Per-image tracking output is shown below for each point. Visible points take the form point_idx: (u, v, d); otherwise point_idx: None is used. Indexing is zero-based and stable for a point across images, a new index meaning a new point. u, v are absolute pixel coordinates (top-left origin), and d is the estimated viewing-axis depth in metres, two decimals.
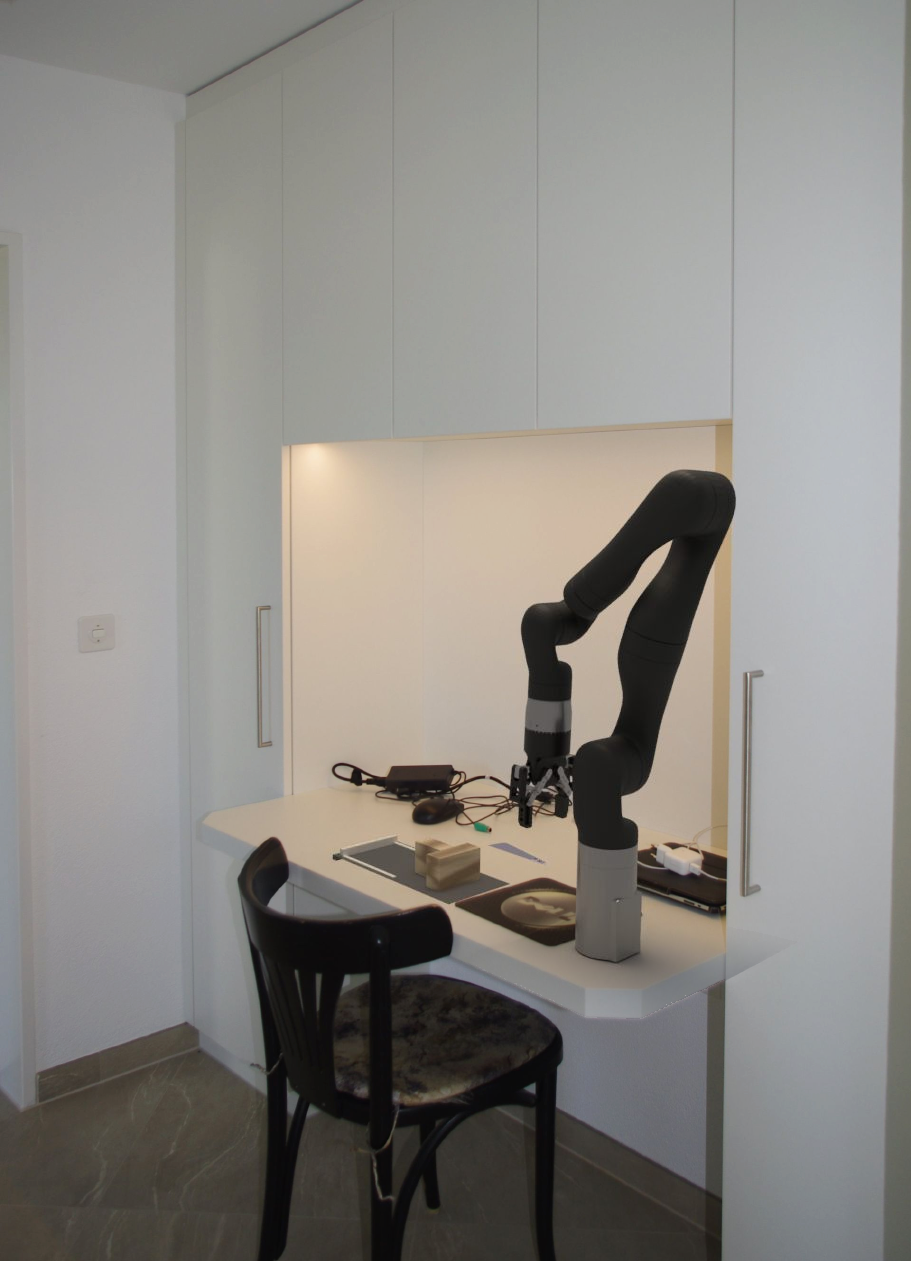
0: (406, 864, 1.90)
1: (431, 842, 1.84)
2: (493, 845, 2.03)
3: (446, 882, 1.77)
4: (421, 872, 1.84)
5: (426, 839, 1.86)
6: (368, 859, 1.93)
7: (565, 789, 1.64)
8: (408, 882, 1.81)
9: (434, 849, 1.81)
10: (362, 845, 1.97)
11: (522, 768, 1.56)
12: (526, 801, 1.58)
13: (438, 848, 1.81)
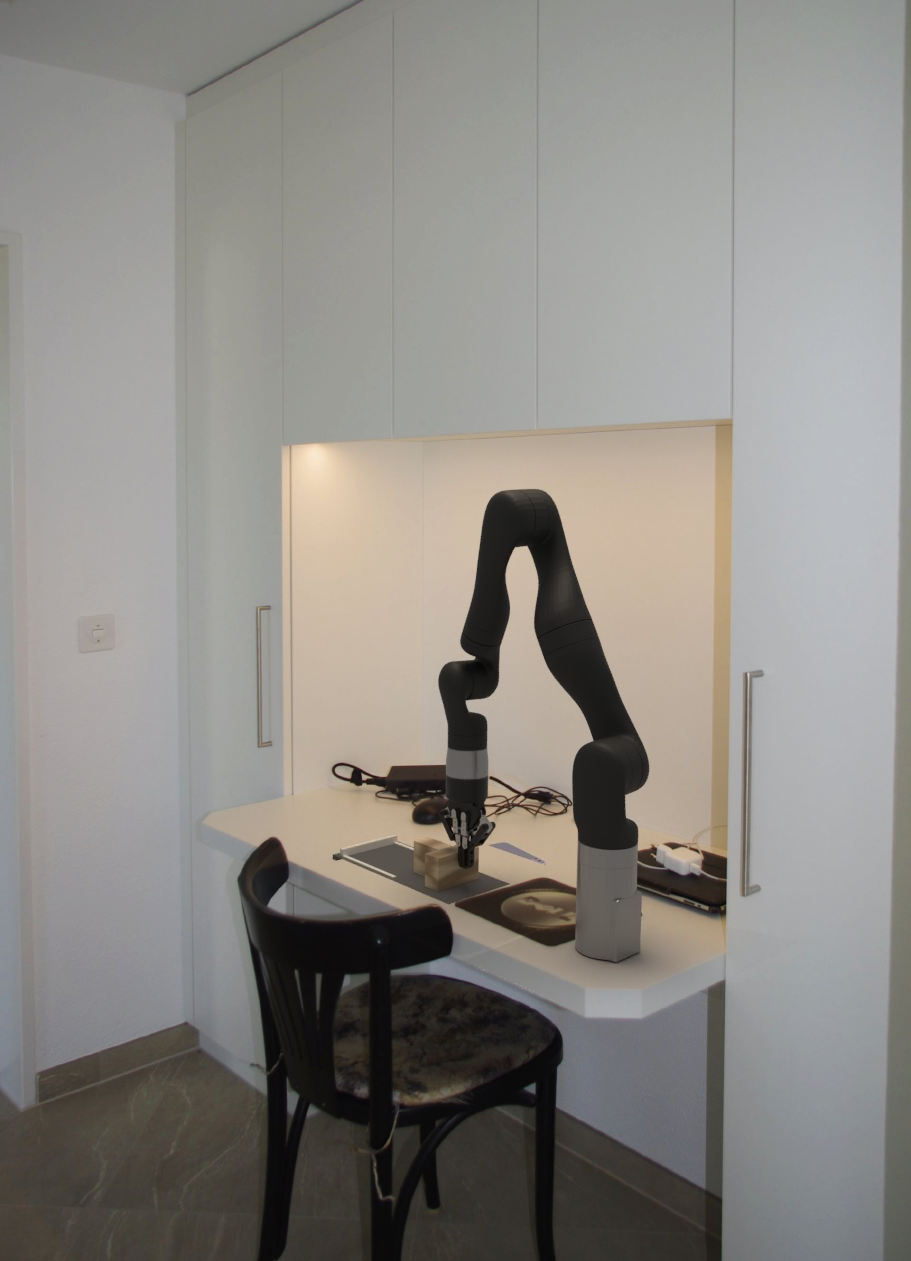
0: (406, 864, 1.90)
1: (430, 842, 1.84)
2: (493, 845, 2.03)
3: (445, 881, 1.77)
4: (420, 871, 1.84)
5: (425, 838, 1.87)
6: (368, 859, 1.93)
7: None
8: (408, 882, 1.81)
9: (433, 848, 1.81)
10: (362, 845, 1.97)
11: (494, 825, 1.73)
12: None
13: (437, 848, 1.81)
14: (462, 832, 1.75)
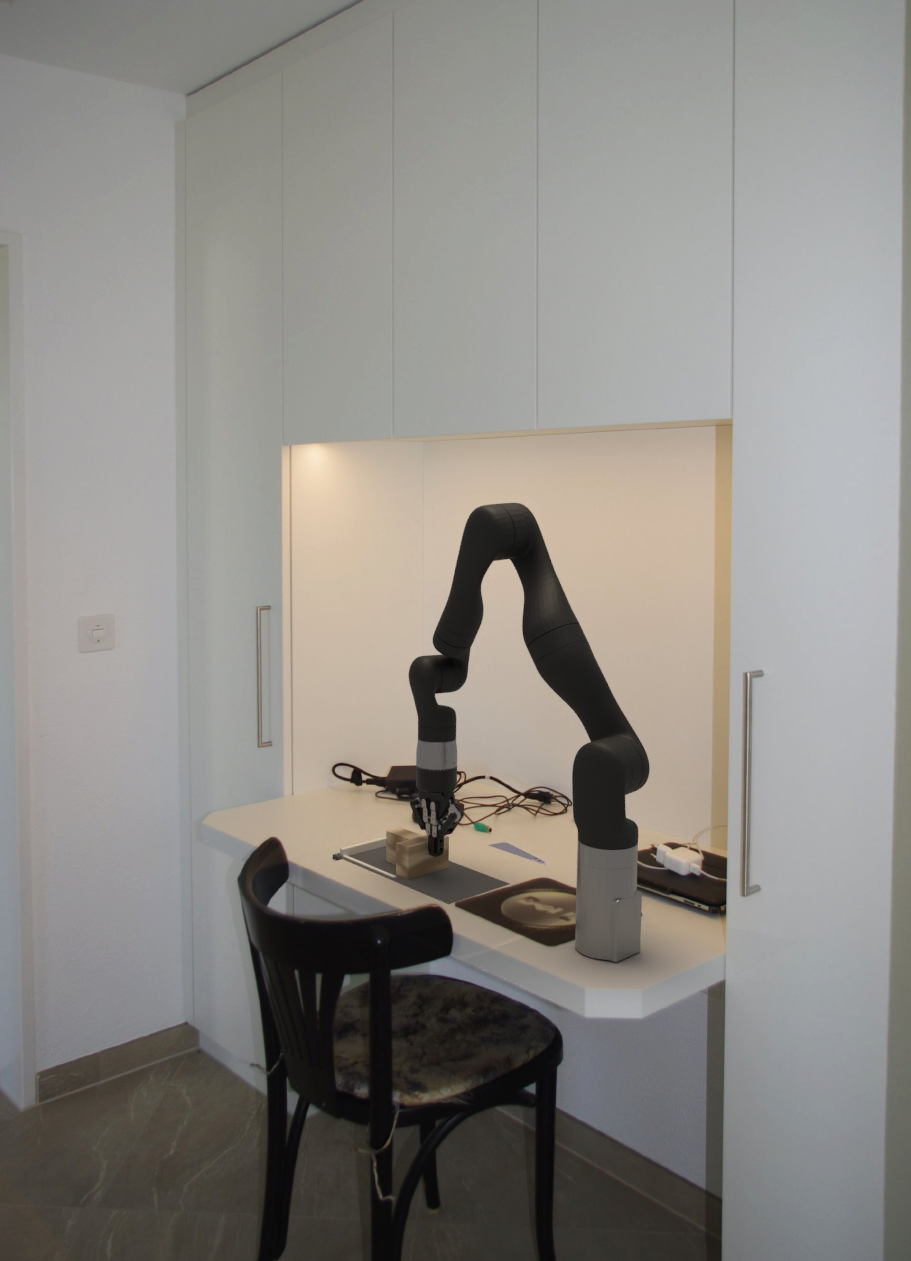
0: None
1: (401, 832, 1.90)
2: (493, 845, 2.03)
3: (415, 869, 1.83)
4: (392, 861, 1.90)
5: (397, 829, 1.92)
6: (368, 859, 1.93)
7: None
8: (408, 882, 1.81)
9: (404, 838, 1.87)
10: (362, 845, 1.97)
11: (462, 814, 1.79)
12: None
13: (408, 837, 1.87)
14: (432, 821, 1.81)
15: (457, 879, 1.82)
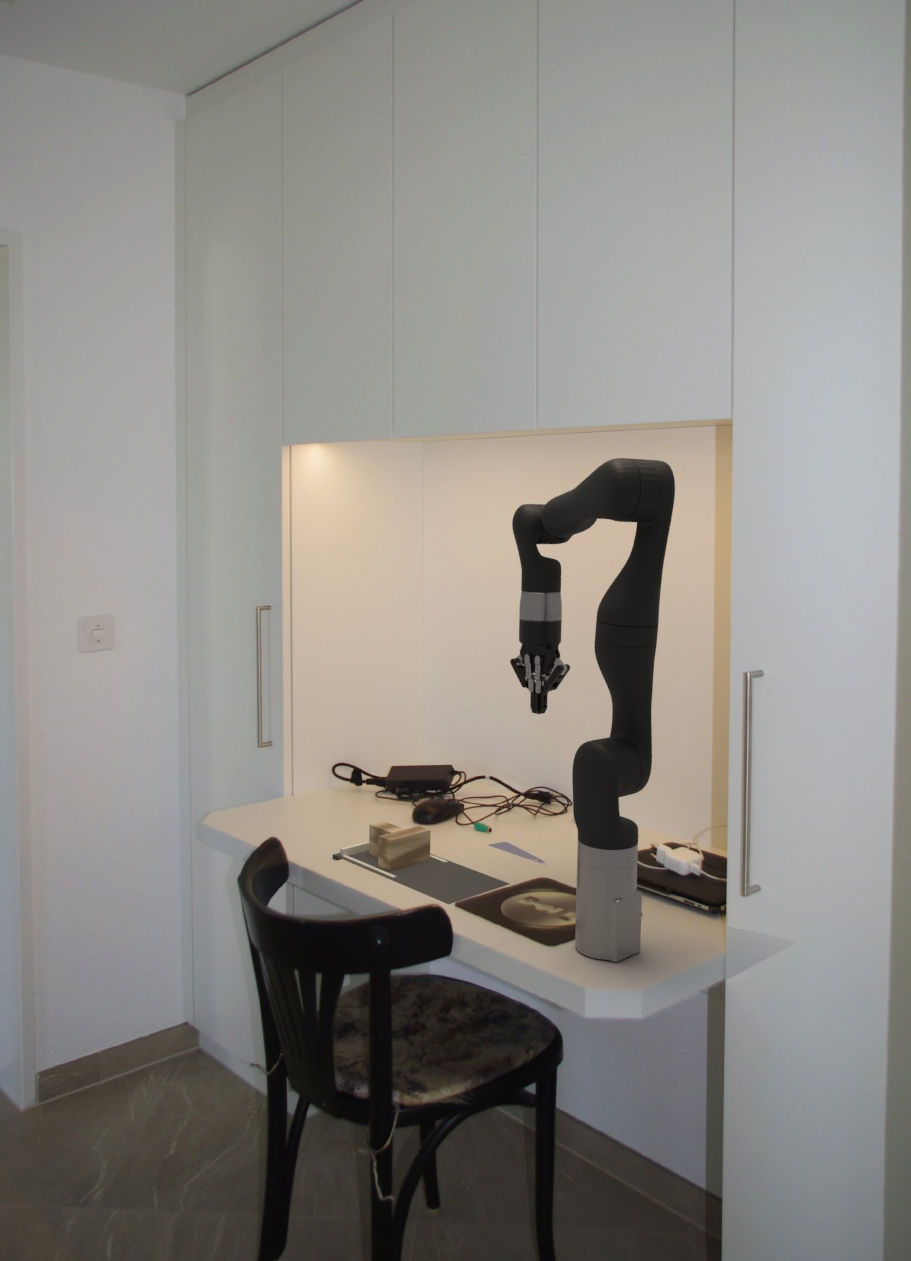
0: None
1: (384, 826, 1.94)
2: (494, 844, 2.04)
3: (397, 862, 1.87)
4: (375, 854, 1.94)
5: (380, 822, 1.96)
6: (368, 859, 1.93)
7: None
8: (408, 882, 1.81)
9: (386, 832, 1.91)
10: (362, 845, 1.97)
11: (568, 667, 1.74)
12: None
13: (390, 831, 1.91)
14: (536, 676, 1.76)
15: (457, 879, 1.82)
